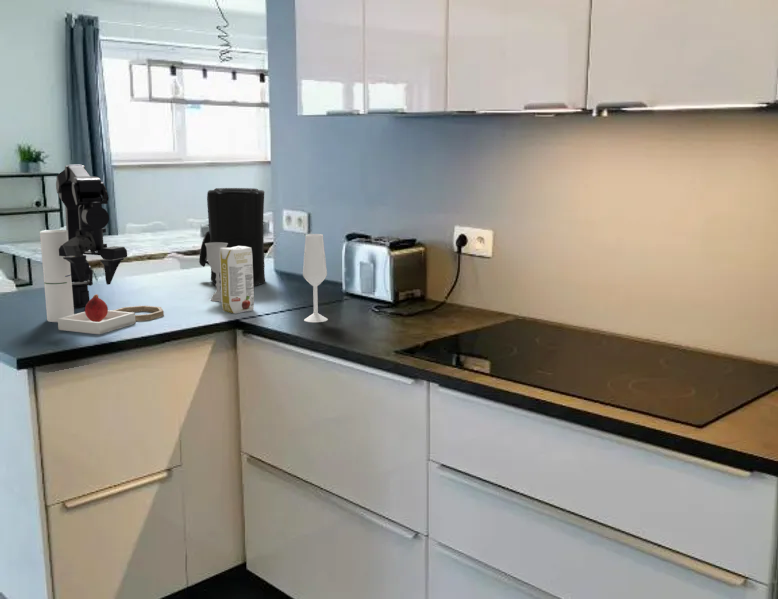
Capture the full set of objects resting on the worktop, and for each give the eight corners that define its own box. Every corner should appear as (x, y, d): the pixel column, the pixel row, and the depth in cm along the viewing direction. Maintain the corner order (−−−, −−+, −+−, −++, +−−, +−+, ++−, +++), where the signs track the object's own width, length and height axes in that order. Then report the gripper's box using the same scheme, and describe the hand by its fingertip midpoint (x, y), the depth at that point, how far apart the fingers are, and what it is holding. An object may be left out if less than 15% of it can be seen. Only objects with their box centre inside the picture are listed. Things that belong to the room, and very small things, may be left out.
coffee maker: (254, 274, 304) (251, 185, 297) (290, 286, 277) (288, 189, 270) (196, 279, 292) (192, 186, 285) (228, 293, 265) (224, 191, 258)
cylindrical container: (79, 317, 228) (73, 230, 223) (62, 322, 221) (54, 233, 217) (59, 315, 230) (52, 229, 225) (41, 321, 224) (33, 232, 219)
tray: (58, 329, 213) (57, 318, 212) (95, 319, 226) (95, 308, 225) (99, 334, 208) (98, 323, 207) (135, 323, 221) (135, 312, 220)
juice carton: (257, 310, 237) (255, 247, 234) (233, 315, 231) (230, 249, 228) (242, 307, 242) (240, 244, 239) (218, 311, 236) (215, 247, 233)
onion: (101, 326, 213) (98, 297, 212) (81, 325, 215) (79, 296, 213) (112, 321, 219) (110, 293, 217) (93, 320, 220) (91, 292, 219)
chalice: (202, 301, 252) (200, 244, 248) (215, 297, 258) (212, 241, 254) (222, 302, 249) (220, 245, 245) (234, 298, 255) (232, 242, 252)
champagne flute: (331, 320, 223) (330, 235, 219) (308, 323, 220) (307, 236, 216) (322, 316, 229) (321, 233, 225) (300, 318, 226) (298, 234, 222)
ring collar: (101, 318, 226) (100, 313, 226) (134, 309, 239) (134, 304, 239) (141, 322, 221) (140, 317, 221) (172, 313, 234) (172, 308, 233)
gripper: (40, 227, 208) (45, 285, 211) (96, 230, 201) (101, 290, 204) (72, 223, 218) (76, 279, 222) (126, 225, 211) (130, 283, 215)
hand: (95, 283), depth 215 cm, fingers open, 9 cm apart
